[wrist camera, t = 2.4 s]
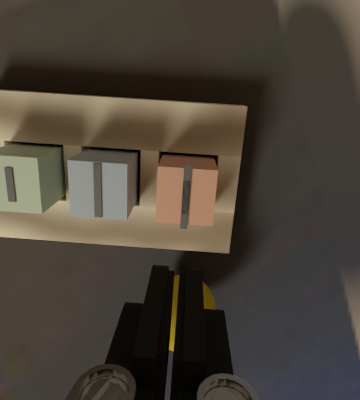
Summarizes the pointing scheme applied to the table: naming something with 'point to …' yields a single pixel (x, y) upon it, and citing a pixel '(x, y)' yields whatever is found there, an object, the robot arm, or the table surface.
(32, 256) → the table surface
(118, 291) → the table surface
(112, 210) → the key slate
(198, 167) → the key terracotta
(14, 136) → the keypad board
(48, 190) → the key sage
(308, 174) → the table surface
